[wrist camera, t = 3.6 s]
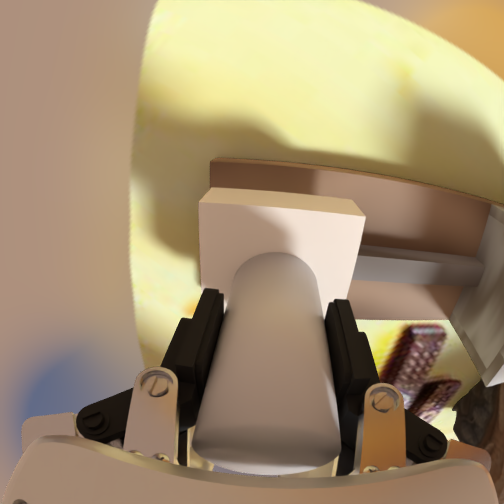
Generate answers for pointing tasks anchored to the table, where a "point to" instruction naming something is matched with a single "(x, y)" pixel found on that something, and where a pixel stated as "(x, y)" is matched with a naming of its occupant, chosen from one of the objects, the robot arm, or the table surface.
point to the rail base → (408, 249)
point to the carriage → (273, 326)
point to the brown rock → (484, 427)
